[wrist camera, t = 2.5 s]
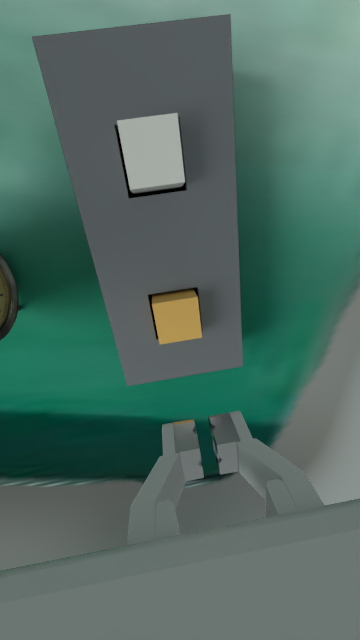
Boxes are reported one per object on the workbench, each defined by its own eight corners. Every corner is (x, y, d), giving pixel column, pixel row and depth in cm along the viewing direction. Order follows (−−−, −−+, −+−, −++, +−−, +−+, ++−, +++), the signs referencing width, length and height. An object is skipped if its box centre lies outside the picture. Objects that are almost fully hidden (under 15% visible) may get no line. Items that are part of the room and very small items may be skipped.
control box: (131, 359, 34) (127, 386, 28) (62, 83, 22) (31, 36, 16) (228, 342, 34) (242, 366, 29) (211, 65, 22) (230, 14, 17)
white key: (133, 194, 21) (129, 189, 19) (122, 134, 20) (116, 120, 17) (181, 187, 22) (185, 182, 19) (174, 127, 20) (177, 112, 17)
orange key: (159, 332, 27) (159, 344, 24) (152, 295, 25) (151, 304, 22) (197, 325, 27) (202, 337, 24) (193, 288, 25) (197, 296, 23)
